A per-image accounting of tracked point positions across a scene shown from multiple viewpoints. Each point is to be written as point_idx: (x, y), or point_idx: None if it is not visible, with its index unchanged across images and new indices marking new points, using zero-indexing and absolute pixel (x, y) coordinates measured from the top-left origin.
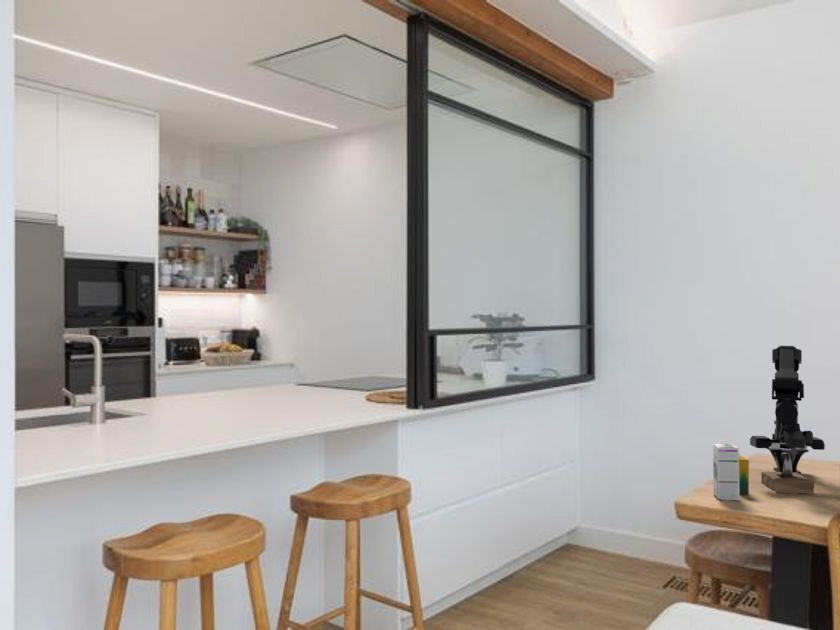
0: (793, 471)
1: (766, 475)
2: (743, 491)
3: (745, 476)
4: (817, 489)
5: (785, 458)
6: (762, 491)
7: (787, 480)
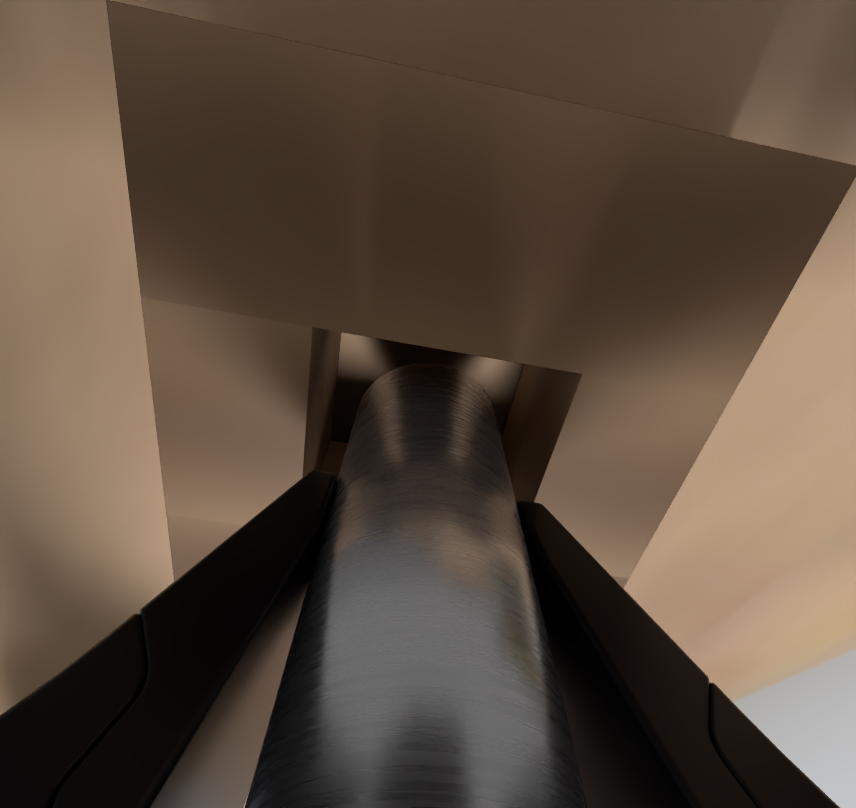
0: (325, 477)
1: (631, 552)
2: None
3: None
4: (85, 325)
5: (548, 764)
6: (834, 253)
7: (632, 156)
